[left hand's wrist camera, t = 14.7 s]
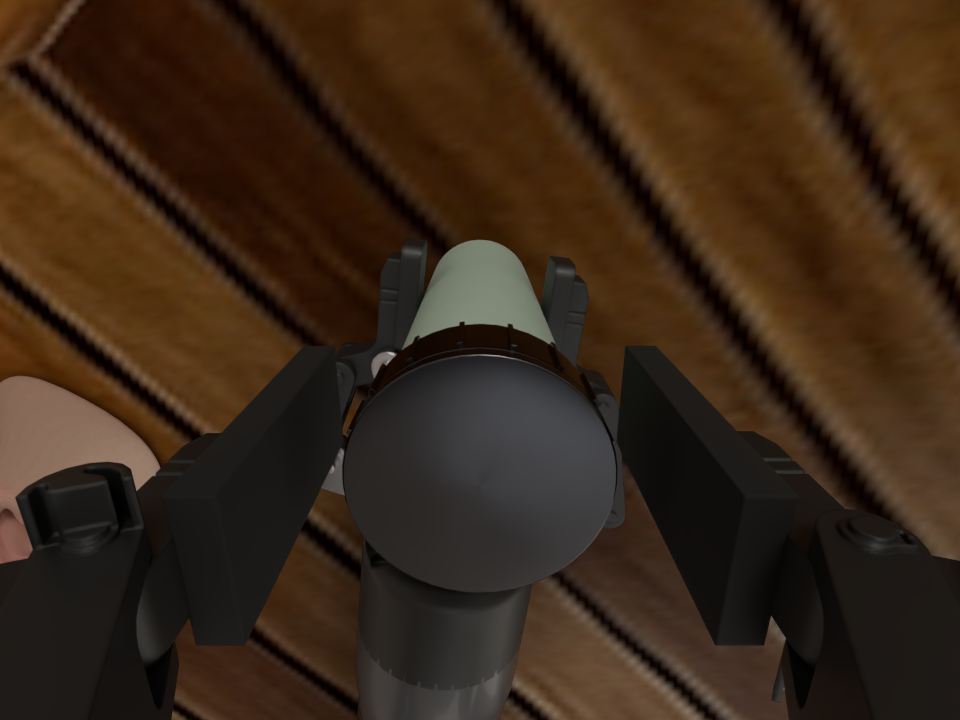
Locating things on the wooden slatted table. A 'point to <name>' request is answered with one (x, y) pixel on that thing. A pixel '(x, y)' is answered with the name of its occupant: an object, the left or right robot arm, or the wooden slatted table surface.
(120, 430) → the anatomical model
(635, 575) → the wooden slatted table surface
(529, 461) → the lid
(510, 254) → the pale green cylinder
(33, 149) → the wooden slatted table surface
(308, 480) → the left robot arm
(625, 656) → the wooden slatted table surface
